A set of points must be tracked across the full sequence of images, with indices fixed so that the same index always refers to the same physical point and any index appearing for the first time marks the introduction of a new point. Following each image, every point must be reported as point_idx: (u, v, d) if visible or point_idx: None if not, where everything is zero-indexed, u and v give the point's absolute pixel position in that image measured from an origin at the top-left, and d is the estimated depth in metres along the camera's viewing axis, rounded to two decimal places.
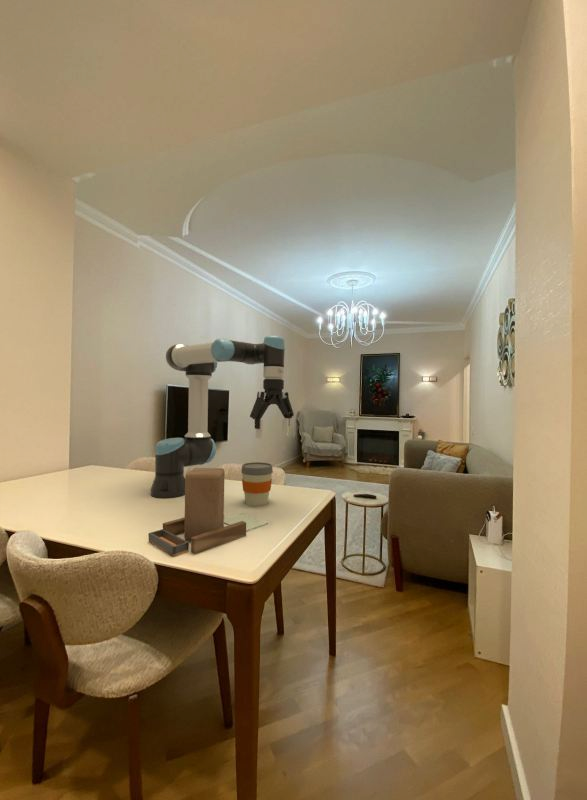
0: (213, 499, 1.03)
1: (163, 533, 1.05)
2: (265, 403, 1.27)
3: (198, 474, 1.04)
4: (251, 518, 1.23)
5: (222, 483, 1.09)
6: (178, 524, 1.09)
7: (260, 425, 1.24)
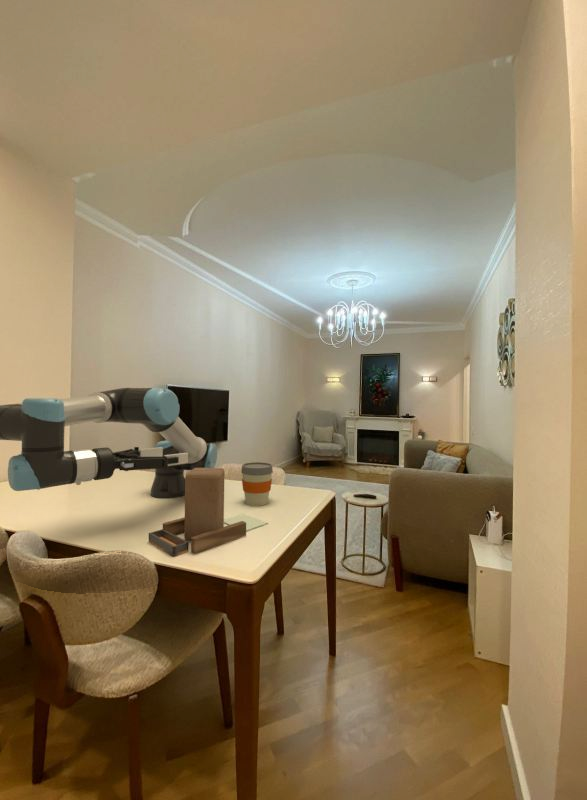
0: (213, 498, 1.03)
1: (163, 533, 1.05)
2: None
3: (198, 474, 1.04)
4: (251, 518, 1.23)
5: (222, 483, 1.09)
6: (178, 524, 1.09)
7: None
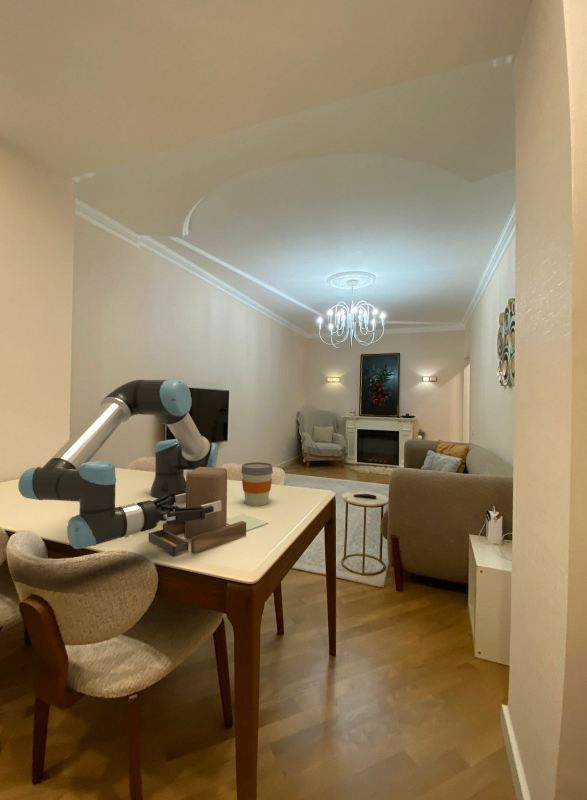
0: (212, 498, 1.03)
1: (163, 533, 1.05)
2: None
3: (198, 473, 1.04)
4: (251, 518, 1.23)
5: (224, 483, 1.09)
6: (178, 524, 1.09)
7: None
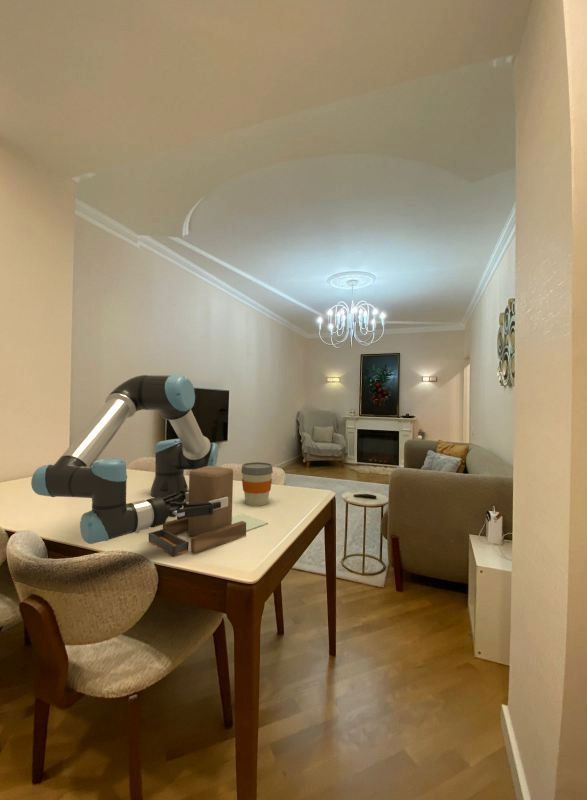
0: (210, 497, 1.04)
1: (163, 533, 1.05)
2: None
3: (199, 472, 1.06)
4: (251, 518, 1.23)
5: (226, 483, 1.09)
6: (178, 524, 1.09)
7: None
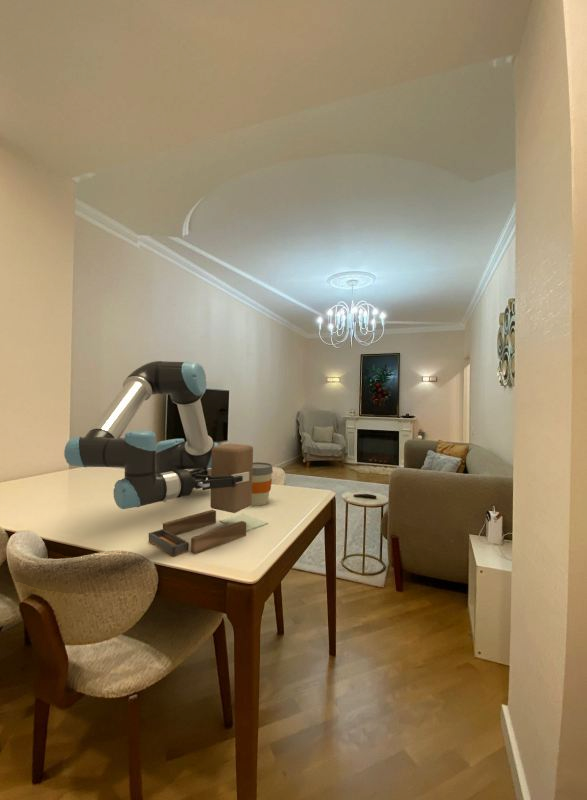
0: (232, 472, 1.09)
1: (163, 533, 1.05)
2: None
3: (221, 447, 1.11)
4: (251, 518, 1.23)
5: (247, 459, 1.13)
6: (178, 524, 1.09)
7: None
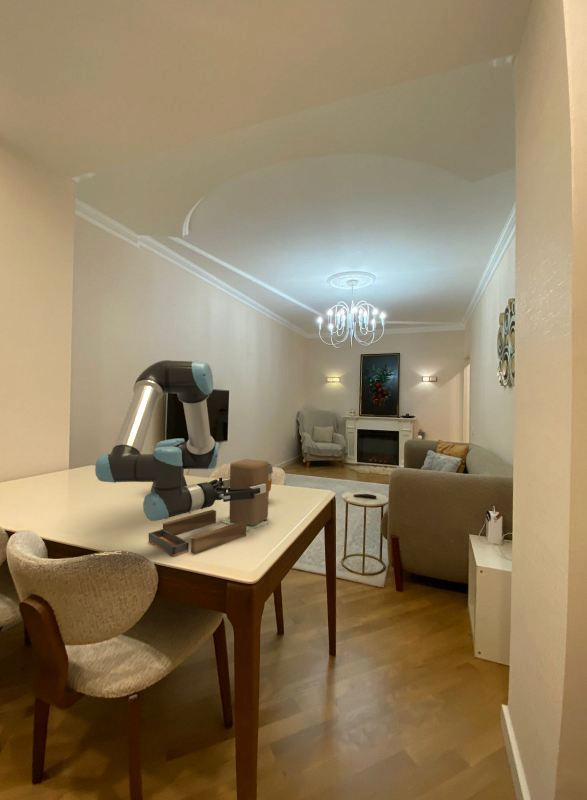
0: None
1: (163, 533, 1.05)
2: None
3: (239, 464, 1.18)
4: None
5: (263, 474, 1.20)
6: (178, 524, 1.09)
7: None
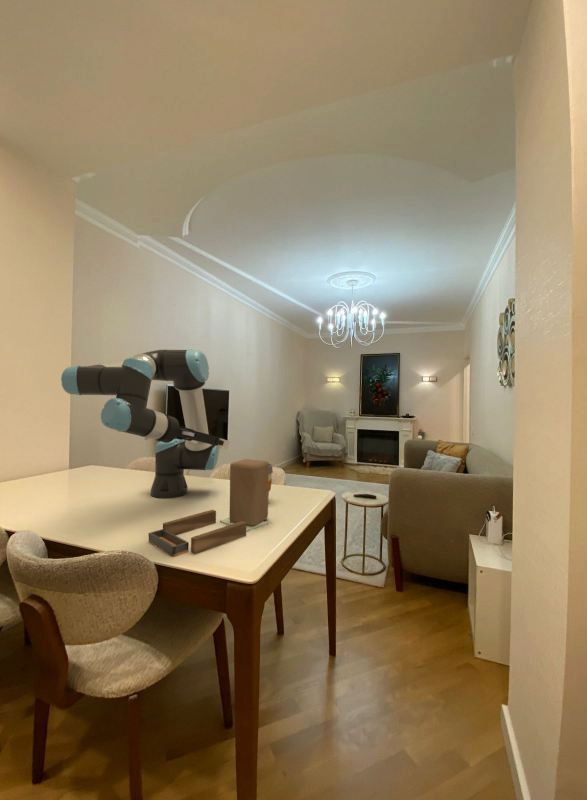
0: (250, 487, 1.15)
1: (163, 533, 1.05)
2: None
3: (239, 464, 1.18)
4: None
5: (263, 474, 1.20)
6: (178, 524, 1.09)
7: None
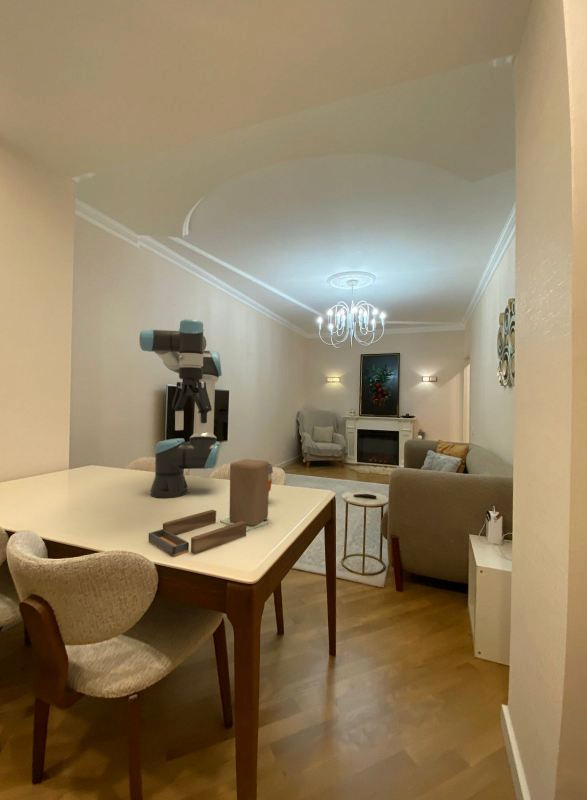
0: (250, 487, 1.15)
1: (163, 533, 1.05)
2: None
3: (239, 464, 1.18)
4: None
5: (263, 474, 1.20)
6: (178, 524, 1.09)
7: None
